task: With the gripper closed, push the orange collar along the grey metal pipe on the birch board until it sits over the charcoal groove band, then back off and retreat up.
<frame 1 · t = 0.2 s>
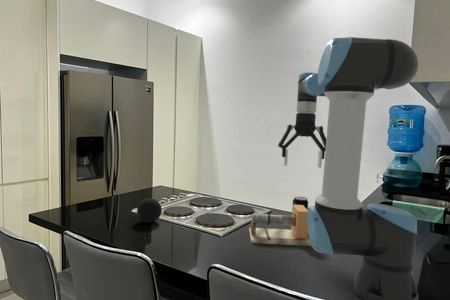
hand: (302, 166, 132), 27 cm above the worktop, fingers open, 13 cm apart
pipe board: (280, 237, 126), on the worktop
speaker: (149, 222, 138), on the worktop
collar: (299, 220, 126), point 7 cm above the worktop, slide at 0.0 cm
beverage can: (298, 225, 144), on the worktop
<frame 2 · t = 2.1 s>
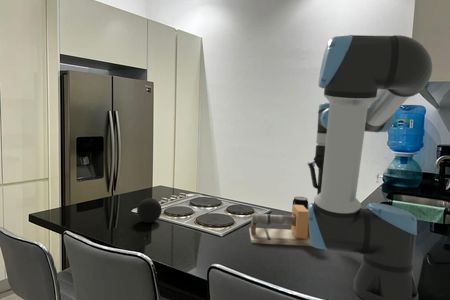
hand: (321, 206, 126), 13 cm above the worktop, fingers closed
nothing on the worktop moved.
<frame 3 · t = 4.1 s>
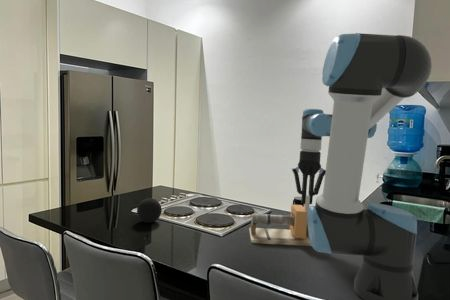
hand: (306, 212, 126), 10 cm above the worktop, fingers closed
collar: (298, 220, 126), point 7 cm above the worktop, slide at 0.6 cm, touching gripper
everything else where it was.
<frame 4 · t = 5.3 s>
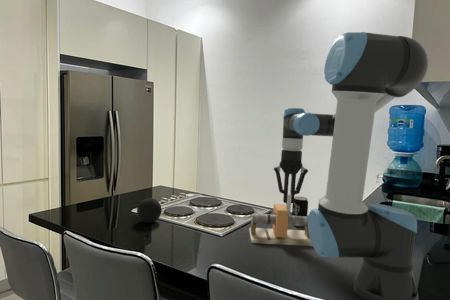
hand: (287, 211, 126), 10 cm above the worktop, fingers closed
collar: (280, 219, 126), point 7 cm above the worktop, slide at 7.5 cm, touching gripper
everything else where it was.
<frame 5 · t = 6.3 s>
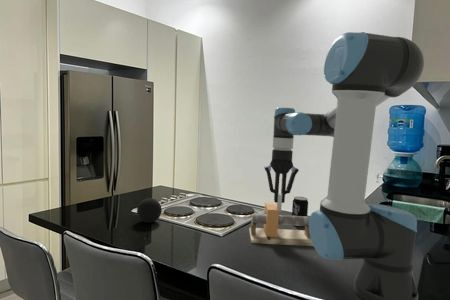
hand: (278, 210, 126), 10 cm above the worktop, fingers closed
collar: (270, 219, 126), point 7 cm above the worktop, slide at 11.0 cm, touching gripper
everything else where it was.
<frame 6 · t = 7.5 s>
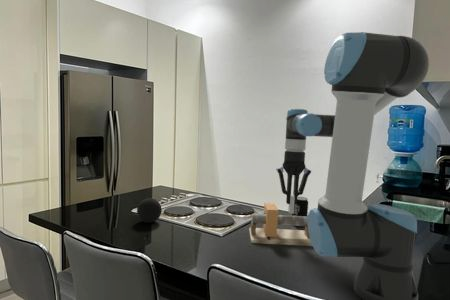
hand: (290, 212, 125), 10 cm above the worktop, fingers closed
collar: (270, 219, 126), point 7 cm above the worktop, slide at 11.2 cm
everything else where it was.
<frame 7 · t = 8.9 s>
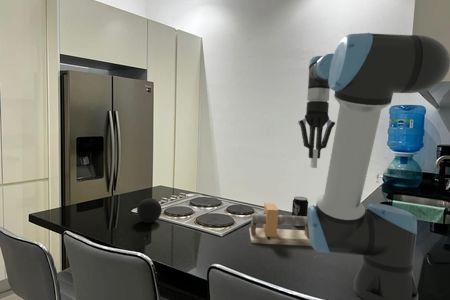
hand: (313, 167, 119), 28 cm above the worktop, fingers closed
nothing on the worktop moved.
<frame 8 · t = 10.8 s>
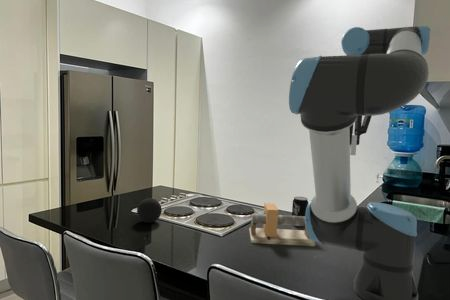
hand: (351, 154, 109), 34 cm above the worktop, fingers closed
nothing on the worktop moved.
at the end: collar slide at 11.2 cm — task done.
